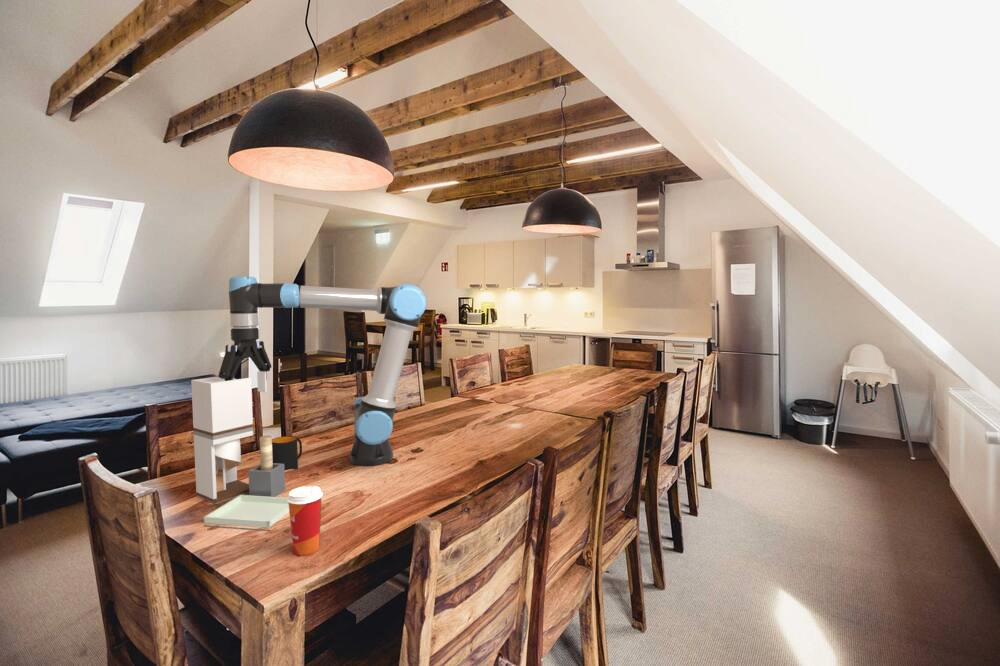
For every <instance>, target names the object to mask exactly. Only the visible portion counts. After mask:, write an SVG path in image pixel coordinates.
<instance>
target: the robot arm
mask: <svg viewBox="0 0 1000 666" xmlns="http://www.w3.org/2000/svg"><path fill="white" fill-rule="evenodd" d="M228 299H229V314H230V327H232V328H231V329H230V339H231V341H233V344H227V345H225V352H224V356H223V359H222V363H221V365H220V369H219V372H218V376H217V377H219V378H221V379H225V381H229V380H236V379H237V378H234V377H235V375H236V373H237V371H238V370H239V368H240V365H241V364H242V361H244V360H245V359H249V358H250V360H251V361H252V362H253V364H254V365H255V366H256V368H257V369H258V371H256V372H257V373H256V375H257V377H256V378H257V392H258V393H259V392H260V393H266V392H268V381H267V380H268V374H267V373H268V372H270V371H271V369H272V363H271V362H270V359H269V357H268V354H267V352H266V349H265V343H264V341H263V340H262V341H261V340H260V341H259V339H260V332H259V331H260V330H259V327H258V326H259V312H258V310H259V308H261V309H263V308H266V309H267V308H273V309H275V308H286V309H289V308H297V309H298V308H304V309H305V308H306V309H323V310H324V309H327V310H345V311H346V310H349V311H350V310H351V311H367V312H368V311H369V312H371V311H372V312H377V313H378V314H379V315H384V317H383V320H384V323H385V324H386V327H385V331H384V335H383V338H382V340H381V341H382V342H381V345H380V349H379V353H378V356H377V360H376V364H375V367H374V370H373V375H372V378H371V382H370V384H369V385H370V386H369V390H368V393H367V394H366V395H365V396H360V397H356V398H355V399H354V401H353V405H352V406H353V417H354V420H353V421H354V440H353V444H352V448H351V449H350V453H349V454H350V455H349V462H350V463H351V464H352V465H355V466H363V467H367V466H369V467H370V466H378V465H383V464H386V463H388V462H390V461H392V460H393V458H394V450H393V447H392V444H391V442H390V440H389V438H390V436H391V434H392V431H393V430H394V428H393V427H394V424H393V420H394V417H395V413H396V409H397V404H396V402H395V401H394V399H395V395H396V392H397V388H398V384H399V381H400V377H401V373H402V370H403V366H404V363H405V359H406V355H407V351H408V348H409V344H410V342H411V341H410V340H411V337H412V333H413V332H414V331H415V330H418V327H419V325H420V321H421V317H422V315H423V314H424V313H425V311H426V307H427V299H426V296H425V293H424V292H423V291H422V290H421V289H420V287H417V285H414V284H410V283H403V284H400V285H397V286H388V287H387V286H380V287H378V288H376V289H371V288H370V289H369V288H355V287H354V288H352V287H351V288H350V287H337V286H336V287H335V286H331V287H330V286H315V285H298V284H297V283H289V282H285V283H280V282H279V283H274V282H272V283H271V282H270V283H263V282H262V283H260V282H258V281H257V278H256V277H254V276H231V277H230V278H229V280H228Z"/></svg>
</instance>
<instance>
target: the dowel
mask: <svg viewBox="0 0 1000 666" xmlns="http://www.w3.org/2000/svg"><path fill="white" fill-rule="evenodd" d="M272 439H273V436H272V435H262V436H260V437H259V455H260V456H259V457H260V459H259V461H260V463H259V464H261V470H262V471H270V470H272V469H273V457H272Z"/></svg>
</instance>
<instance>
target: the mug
mask: <svg viewBox="0 0 1000 666" xmlns="http://www.w3.org/2000/svg"><path fill="white" fill-rule="evenodd" d="M298 443H299V445H298ZM302 444H303V442H302V440H301V439H300V438H297V437H296V436H294V435H292V436H291V435H286V436H284V435H283V436H278V437H275V438H272V457H273V463H278V464H284V469H285V471H287V470H298V468H299V459H300V458H301V457H302V453H303V445H302ZM298 446H299V452H298Z"/></svg>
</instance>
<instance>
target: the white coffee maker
mask: <svg viewBox="0 0 1000 666" xmlns="http://www.w3.org/2000/svg"><path fill="white" fill-rule="evenodd" d="M235 379H236V380H229V381H225V379H221V378H219V377H218V376H213V377H205V378H198V379H197V378H196V379H191V380H190V381H191V403H192V404H191V405H192V407H191V408H192V426H193V445H194V446H193V448H194V449H193V450H194V469H195V487H196V488H195V489H196V490H195V491H196V493H195V494H196V496H197V497H199V498H201V499H204V500H206V501H208V502H210V503H212V504H215V505H217V504H221V503H222V502H225V501H228V500H229V501H230V500H232V499H234V498H236V497H238V496H239V495H247V494H248V493H249V483H247V482H244V481H241V480H238V469H237V468H238V466H239V465H241V463H242V457H241V454H242V452H241V439H243V438H248V437H251V436H254V422H253V421H254V420H253V419H254V417H253V414H254V413H253V394H252V393H253V391H252V390H253V389H252V377H245V378H238V379H237V378H235Z"/></svg>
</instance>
